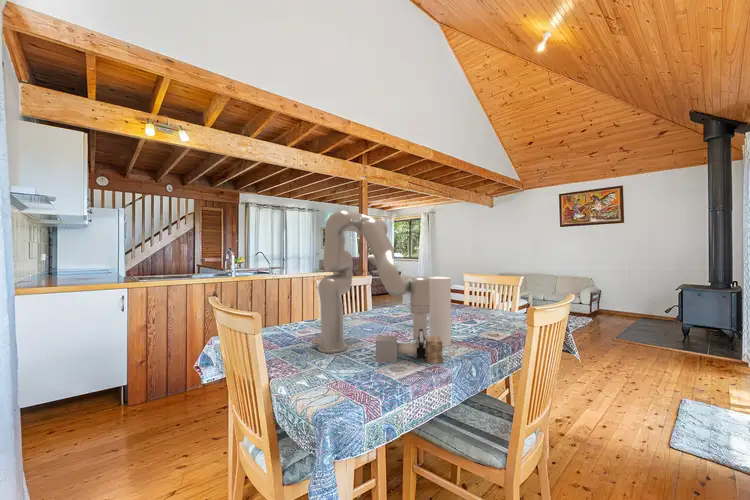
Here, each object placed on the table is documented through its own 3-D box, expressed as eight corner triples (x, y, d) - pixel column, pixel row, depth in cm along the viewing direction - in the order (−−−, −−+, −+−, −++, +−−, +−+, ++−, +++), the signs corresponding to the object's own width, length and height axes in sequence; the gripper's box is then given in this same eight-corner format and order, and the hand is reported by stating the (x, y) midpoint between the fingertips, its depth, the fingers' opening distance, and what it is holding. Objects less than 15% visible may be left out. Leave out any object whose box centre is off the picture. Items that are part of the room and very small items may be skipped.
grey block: (375, 361, 124) (375, 340, 124) (377, 355, 131) (377, 335, 131) (396, 362, 123) (396, 341, 123) (397, 355, 130) (397, 335, 130)
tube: (394, 356, 124) (394, 344, 124) (394, 352, 129) (394, 340, 129) (434, 357, 123) (433, 345, 123) (432, 353, 128) (432, 341, 127)
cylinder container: (449, 340, 150) (449, 275, 150) (452, 346, 141) (451, 277, 140) (428, 340, 151) (428, 275, 150) (430, 346, 142) (429, 277, 141)
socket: (427, 362, 122) (427, 341, 122) (426, 356, 129) (426, 336, 129) (442, 362, 122) (442, 341, 121) (440, 356, 128) (440, 336, 128)
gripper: (409, 304, 134) (410, 348, 135) (410, 313, 117) (411, 363, 117) (428, 304, 134) (428, 348, 134) (431, 313, 116) (432, 363, 117)
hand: (420, 354), depth 126 cm, fingers open, 5 cm apart
